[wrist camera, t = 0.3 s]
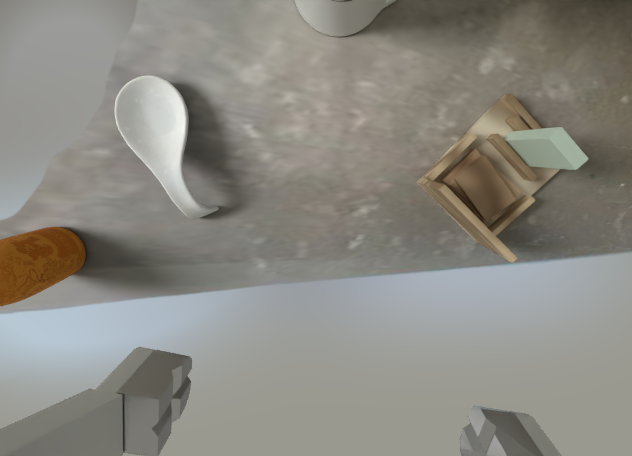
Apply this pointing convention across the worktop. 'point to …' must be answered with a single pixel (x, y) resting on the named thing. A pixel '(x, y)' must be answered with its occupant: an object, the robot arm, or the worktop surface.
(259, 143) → the worktop surface
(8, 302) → the wine bottle
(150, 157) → the spoon rest
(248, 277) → the worktop surface
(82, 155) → the worktop surface
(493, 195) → the offcut stack
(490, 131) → the offcut rack
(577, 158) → the sage board
